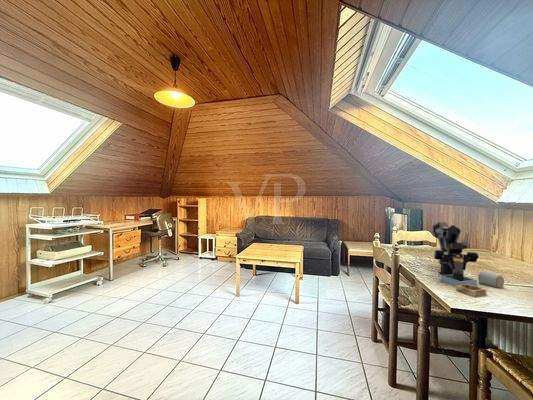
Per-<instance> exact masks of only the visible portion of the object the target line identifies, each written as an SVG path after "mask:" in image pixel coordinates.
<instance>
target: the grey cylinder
mask: <svg viewBox="0 0 533 400" xmlns="http://www.w3.org/2000/svg"><path fill="white" fill-rule="evenodd" d="M477 282H478V284H481V285H484V286H490V287H493V288H497V289H502V288H503V286H504V284H505V280H504V277H503V276H502V275H501V274H497V273H494V272H491V271H486V270H481V271H479V273H478V275H477Z"/></svg>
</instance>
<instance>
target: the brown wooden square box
mask: <svg viewBox="0 0 533 400" xmlns="http://www.w3.org/2000/svg"><path fill="white" fill-rule="evenodd" d="M454 291H455V292H458V293H461V294H464V295H467V296H469V297H472V298H480V297H481V298H482V297H486V296H488V294H487V289H486V288H482V287H480V286H478V285H477V286H473V285H470V284H462V285H456V286H455V289H454Z"/></svg>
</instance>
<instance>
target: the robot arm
mask: <svg viewBox="0 0 533 400" xmlns="http://www.w3.org/2000/svg"><path fill="white" fill-rule="evenodd" d="M461 232H462V231H461V229H460V228H459V227H457V226H456V225H455V224H454V225H449V224H447V222H445V221H438V222H436V223H435V224H434V225H433V226H432V228H431V233H432V234H433V236H434V238H436V239H437V241H438V244H439V247H440V249H436V250H435V251H434V253H433V258H434V259H435V260H437V262H438V264H439V265H440V271H439V272H438V273H439V274H441V275H451V274H453V269H454V266H453V256H456V255H460V257H463V258H464V262H463V267H464V271H466V269H467V264H468V263H476V262H477V261H478V259H479V254H478V253H477V252H474V251H473V252H472V251H467V252H466V254H462V253H463V250H467V249H468V244H467V242H458V240H459V238H460V236H461V235H460V234H461Z"/></svg>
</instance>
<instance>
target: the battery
mask: <svg viewBox="0 0 533 400" xmlns="http://www.w3.org/2000/svg"><path fill="white" fill-rule="evenodd" d="M463 262H464V258H463V257H460V255H456V256H453V266H454V269H453V279H455V280H458V281H464V277H465V275H464V274H465V273H464V271H465V270H464V267H463Z"/></svg>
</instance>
